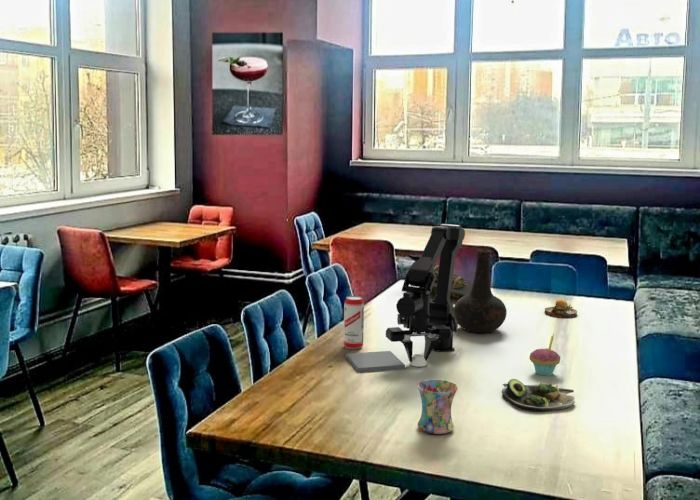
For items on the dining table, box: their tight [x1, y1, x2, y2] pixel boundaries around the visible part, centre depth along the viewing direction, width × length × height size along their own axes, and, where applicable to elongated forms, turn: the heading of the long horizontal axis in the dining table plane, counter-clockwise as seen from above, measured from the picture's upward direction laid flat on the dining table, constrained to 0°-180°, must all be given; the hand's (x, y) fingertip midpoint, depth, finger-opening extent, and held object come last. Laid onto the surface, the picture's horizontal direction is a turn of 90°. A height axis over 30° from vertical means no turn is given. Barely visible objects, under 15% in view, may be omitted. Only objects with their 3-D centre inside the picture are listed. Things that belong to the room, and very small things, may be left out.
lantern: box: [405, 263, 473, 299], centre depth 321 cm, size 14×23×30 cm
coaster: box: [345, 350, 406, 373], centre depth 230 cm, size 14×14×1 cm
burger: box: [544, 298, 578, 319], centre depth 292 cm, size 12×12×8 cm
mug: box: [416, 378, 459, 435], centre depth 179 cm, size 12×9×11 cm
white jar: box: [409, 353, 428, 368], centre depth 229 cm, size 5×3×5 cm
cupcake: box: [529, 333, 561, 377], centre depth 222 cm, size 9×8×12 cm
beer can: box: [343, 295, 365, 350], centre depth 244 cm, size 6×6×16 cm
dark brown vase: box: [453, 249, 508, 334], centre depth 266 cm, size 18×18×28 cm
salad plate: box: [501, 378, 576, 413], centre depth 202 cm, size 19×18×5 cm
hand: (417, 361), depth 229 cm, fingers open, 4 cm apart
